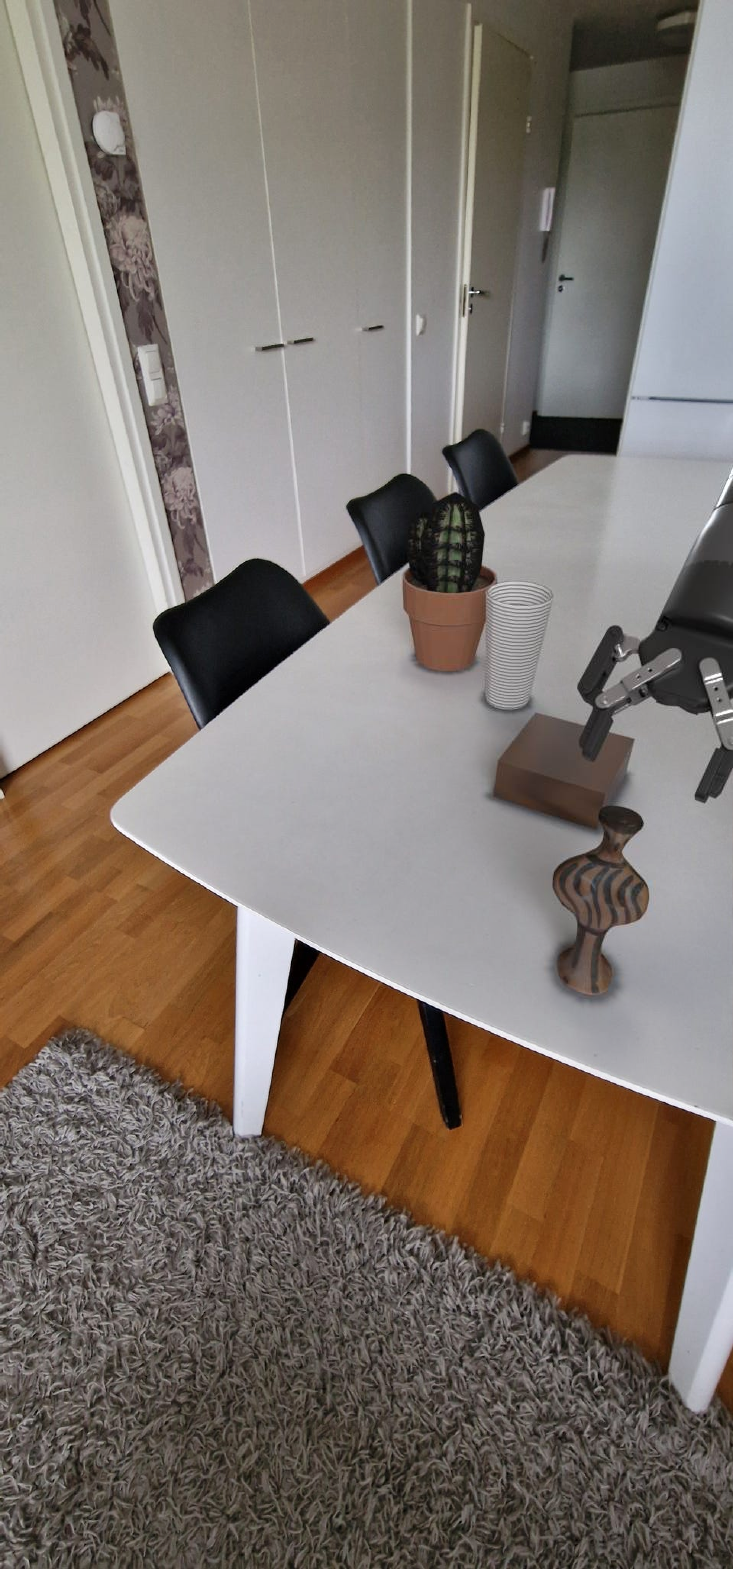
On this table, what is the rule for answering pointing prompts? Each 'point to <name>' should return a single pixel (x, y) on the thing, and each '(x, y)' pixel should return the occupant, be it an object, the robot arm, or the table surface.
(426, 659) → the potted plant
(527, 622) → the cup
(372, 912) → the table surface
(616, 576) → the table surface
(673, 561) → the table surface
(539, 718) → the walnut block
